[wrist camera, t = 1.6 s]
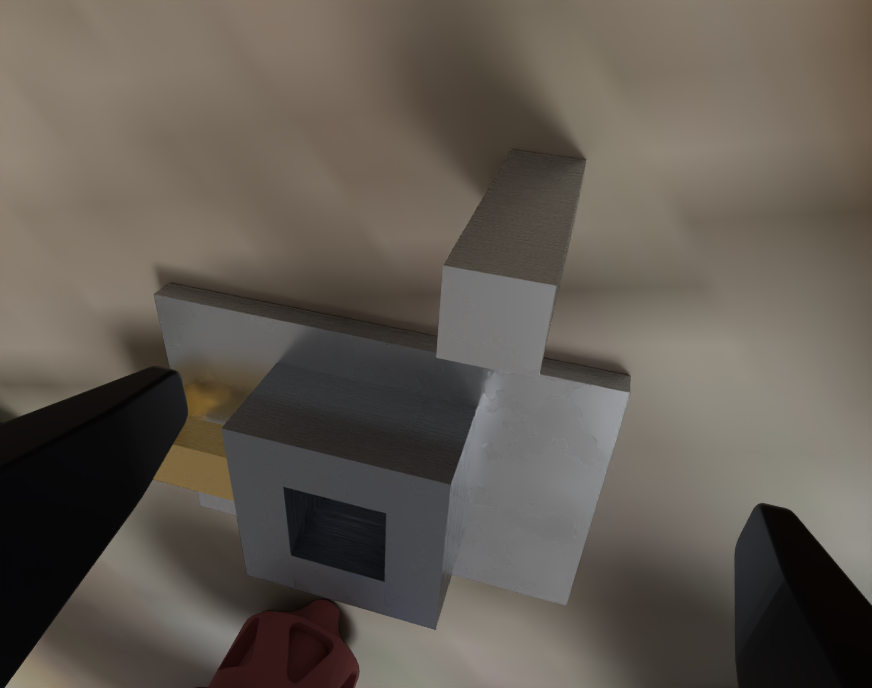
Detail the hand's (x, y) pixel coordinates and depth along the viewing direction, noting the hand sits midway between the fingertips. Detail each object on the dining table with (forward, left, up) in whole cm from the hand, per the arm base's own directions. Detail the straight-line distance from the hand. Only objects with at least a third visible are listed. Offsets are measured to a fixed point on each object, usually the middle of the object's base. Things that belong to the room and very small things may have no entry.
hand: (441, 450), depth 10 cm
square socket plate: (+5, +12, -12) cm, 17 cm away
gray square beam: (0, 0, -12) cm, 12 cm away
